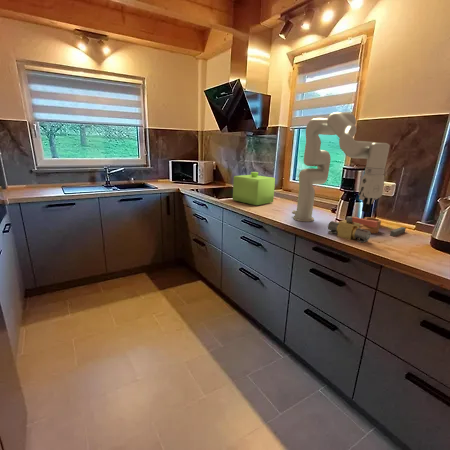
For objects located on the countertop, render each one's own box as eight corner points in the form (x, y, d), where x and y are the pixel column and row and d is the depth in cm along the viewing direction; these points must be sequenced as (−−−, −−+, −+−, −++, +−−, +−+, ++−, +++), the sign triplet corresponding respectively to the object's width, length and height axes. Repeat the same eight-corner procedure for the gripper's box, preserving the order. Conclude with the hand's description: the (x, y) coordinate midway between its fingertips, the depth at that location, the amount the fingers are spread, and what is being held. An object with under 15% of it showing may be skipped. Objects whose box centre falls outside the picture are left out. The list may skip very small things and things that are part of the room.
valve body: (326, 232, 146) (328, 218, 143) (333, 230, 150) (335, 216, 148) (363, 244, 131) (366, 228, 128) (370, 241, 135) (373, 225, 132)
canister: (232, 200, 223) (233, 171, 216) (249, 197, 237) (251, 170, 231) (256, 205, 206) (258, 174, 199) (273, 201, 221) (275, 172, 214)
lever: (344, 221, 138) (345, 215, 137) (348, 220, 140) (349, 214, 139) (374, 228, 128) (375, 222, 127) (377, 227, 130) (378, 221, 129)
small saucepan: (370, 228, 157) (373, 217, 155) (381, 233, 149) (384, 221, 147) (343, 228, 153) (346, 216, 151) (353, 233, 145) (356, 221, 143)
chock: (389, 235, 145) (390, 231, 145) (400, 231, 154) (401, 226, 153) (393, 236, 144) (394, 231, 143) (404, 231, 152) (405, 227, 151)
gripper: (369, 173, 115) (360, 215, 120) (393, 172, 120) (384, 213, 126) (354, 170, 121) (347, 210, 127) (379, 170, 127) (370, 208, 133)
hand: (365, 211), depth 126 cm, fingers closed
